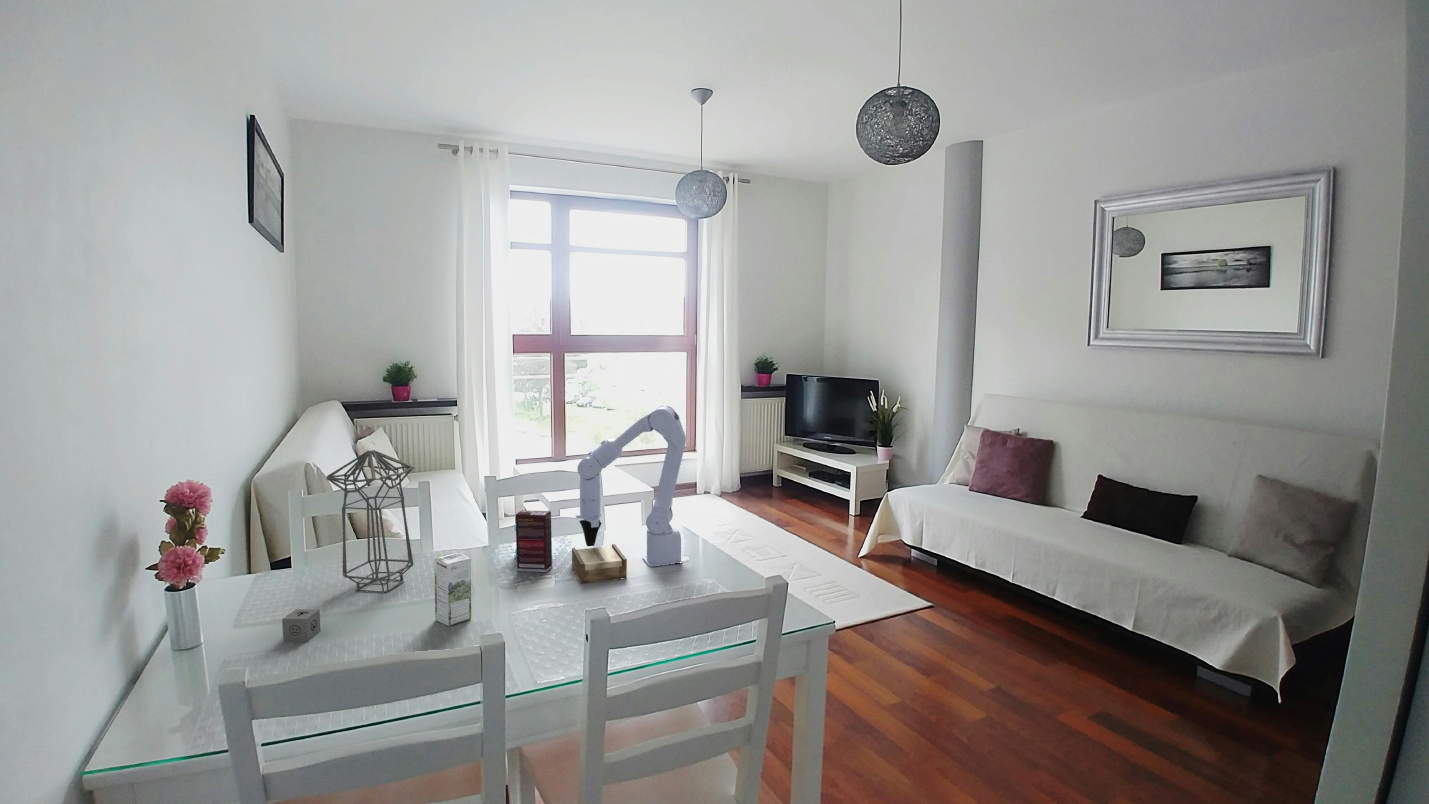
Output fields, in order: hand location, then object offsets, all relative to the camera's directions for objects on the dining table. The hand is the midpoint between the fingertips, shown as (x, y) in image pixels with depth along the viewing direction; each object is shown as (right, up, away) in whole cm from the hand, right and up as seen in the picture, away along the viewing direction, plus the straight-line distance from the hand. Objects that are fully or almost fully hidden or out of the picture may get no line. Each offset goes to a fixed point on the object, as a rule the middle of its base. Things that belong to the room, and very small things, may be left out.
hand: (590, 545), depth 199 cm
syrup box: (-23, -8, -42) cm, 49 cm away
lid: (+4, -2, -11) cm, 12 cm away
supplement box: (-14, -5, -9) cm, 17 cm away
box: (+4, -5, -10) cm, 12 cm away
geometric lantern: (-50, -6, -23) cm, 55 cm away
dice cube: (-52, -9, -51) cm, 73 cm away
